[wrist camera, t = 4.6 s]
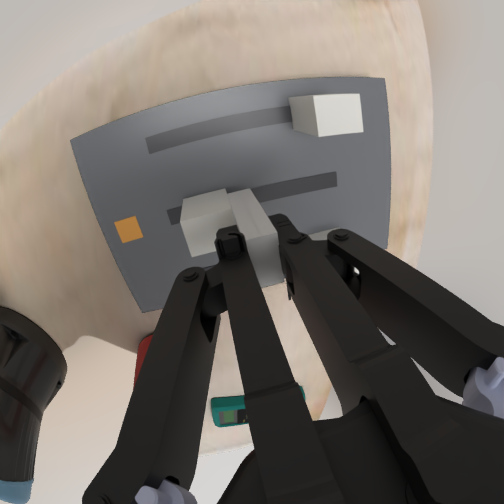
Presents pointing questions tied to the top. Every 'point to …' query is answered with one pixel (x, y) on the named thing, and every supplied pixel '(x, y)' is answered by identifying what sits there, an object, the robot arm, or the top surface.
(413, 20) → the top surface
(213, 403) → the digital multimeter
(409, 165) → the top surface
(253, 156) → the breaker panel
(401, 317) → the robot arm
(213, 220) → the handle
